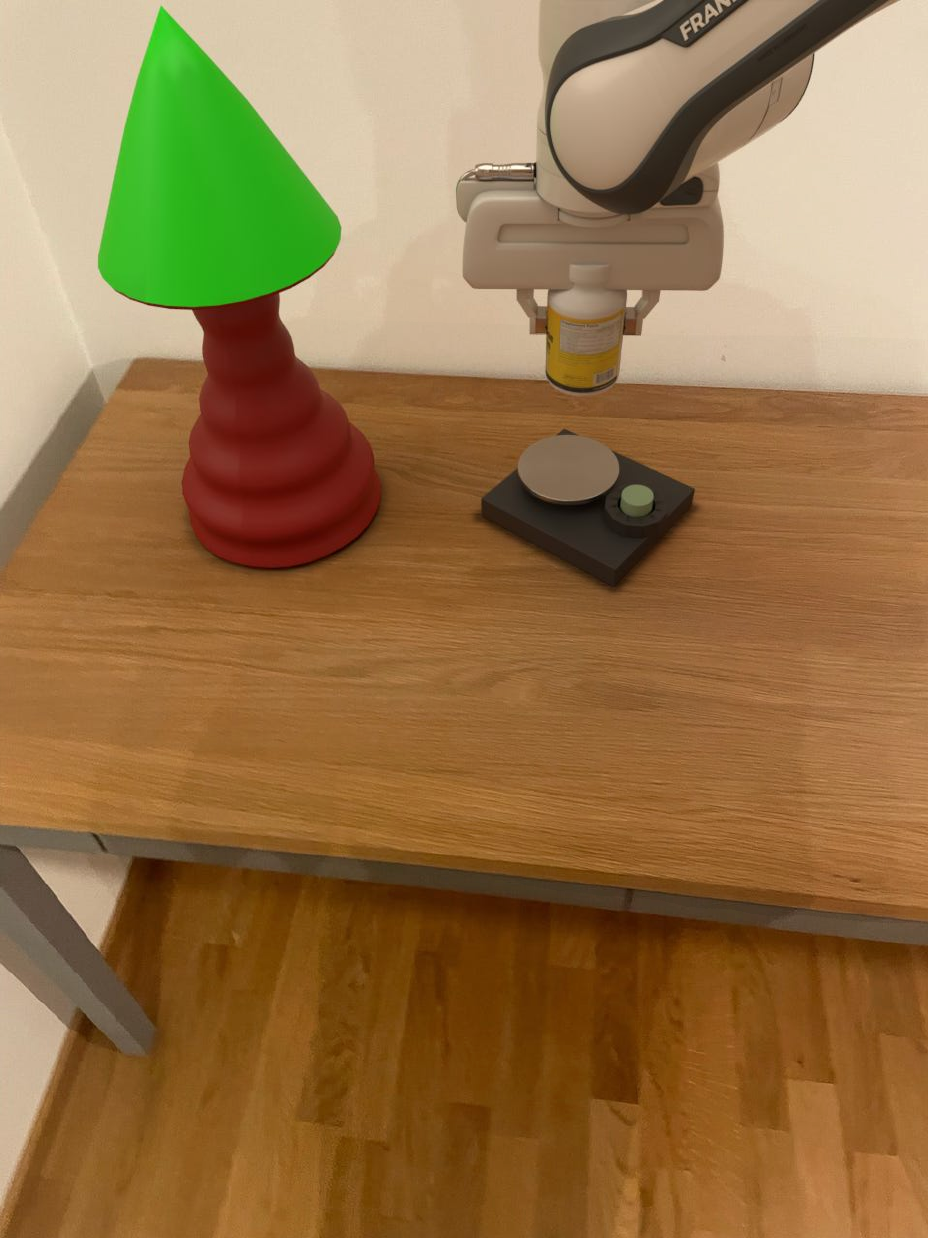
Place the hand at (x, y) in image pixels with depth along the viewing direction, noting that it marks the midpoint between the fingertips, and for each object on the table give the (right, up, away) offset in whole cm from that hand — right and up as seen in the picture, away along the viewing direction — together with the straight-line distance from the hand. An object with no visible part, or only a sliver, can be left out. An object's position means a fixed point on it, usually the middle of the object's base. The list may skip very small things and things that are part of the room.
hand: (585, 331), depth 78 cm
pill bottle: (0, -3, +4) cm, 5 cm away
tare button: (+6, -14, +11) cm, 18 cm away
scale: (+2, -13, +16) cm, 21 cm away
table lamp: (-29, -12, +19) cm, 36 cm away
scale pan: (0, -10, +14) cm, 17 cm away
